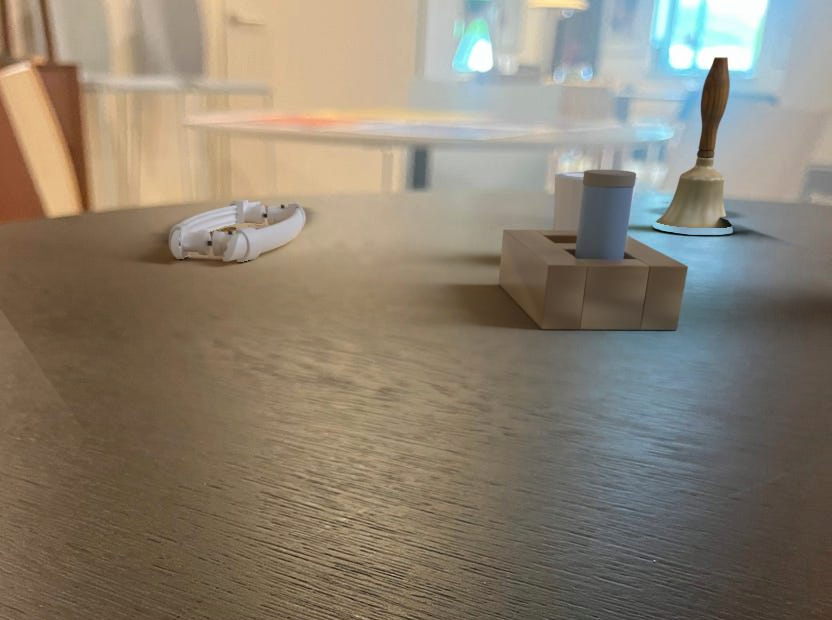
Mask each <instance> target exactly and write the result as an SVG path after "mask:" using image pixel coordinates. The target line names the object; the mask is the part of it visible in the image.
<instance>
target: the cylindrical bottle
mask: <svg viewBox="0 0 832 620" xmlns="http://www.w3.org/2000/svg"><path fill="white" fill-rule="evenodd" d="M583 172H584V177H583V192H582V200H581V208H580V217H579V225H578V233H577V242H576V250H575V257H576V258H577V259H623V258H624V251H625V244H626V237H627V236H628V229H629V223H630V217H631V209H632V205H631V202H632V203H633V201H632V195H633V188H634V185H635V179H636V178H637V173H636V172H635V171H630V170H622V169H621V170H620V169H587V170H584V171H583Z"/></svg>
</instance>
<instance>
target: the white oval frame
mask: <svg viewBox="0 0 832 620" xmlns="http://www.w3.org/2000/svg"><path fill="white" fill-rule="evenodd" d="M287 204H288V205H287V206H288V207H285V204H283V203H282V204H280V207H278V206H277V205H275V204H273V205H272V204H269V205H268V207H267V213H266V206H265V205H264V204H261V201H251V202H249V199H240V200H239V199H238V200H233V201H232V202H231V203H230V204H229V205H227V206H223V207H217V208H214V209H211V210H206V211H203V212H202V211H201V212H200V213H197V214H194V215H192V216H189V217H187V218H185V219H184V220H182V221H180V223H176V224H174V225H173V226H172V227H171V229H170V230H169V235H168V247H169V250H170V252H171V255H173V256H174V258H176V259H177V260H179V259H181V258H184V257H185V256H187V255H189V256H190V253H197V254H198V255H200V256H209V255H210V254H211V250H212V253H213V255H214V256H215V257H220V256H222V257H223V258H222V261H223V262H232V261H236V263H237V262H243V263H245V262H244V261H247V262H249V261H248V260H251V261H253V260H252V259H254V260H256V259H257V258H258V257H260V255H261V254H263V253H266V252H269V251H272V250H275V249H277V248H280V247H282V246H285V245H287V244H288V243H290V242H292V241H293V240H294V239H296V238H297V237H298V236H299V235H300V233H301V231H302V230H303V228H304V227H305V225H306V220H307V218H306V213H305V209H303V207H302V206H301V205H300V204H299V203H298V202H297V201H291V202H288V203H287ZM266 219H267V226H262V227H260V228H255V227H253V226H249V227H240V228H238V229H235V233H234V232H233V230H232V229H227V233H225V231H222V230H219V231H214V232H212V236H211V233H209V232H210V231H213V230H216V229H219V228H222V227H224V226H229V225H233V224H237V223H239V224H244V223H251V224H254V225H256V224H263V223H265V224H266ZM269 225H270V226H269ZM302 227H303V228H302ZM301 229H302V230H301Z"/></svg>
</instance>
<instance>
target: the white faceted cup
mask: <svg viewBox="0 0 832 620" xmlns="http://www.w3.org/2000/svg"><path fill="white" fill-rule="evenodd" d="M583 177H584V171H569V172H561V173H557V174H556V173H555V174H554V204H553V207H554V209H553V230H576V231H578V225H579V217H580V208H581V200H582V192H583ZM637 182H638V177H636V179H635V185H634V188H633V195H632V202H631V206H632V205H633V200H634V197H635V196H634V195H635V190H636V188H637Z"/></svg>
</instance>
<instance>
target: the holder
mask: <svg viewBox="0 0 832 620" xmlns="http://www.w3.org/2000/svg"><path fill="white" fill-rule="evenodd" d="M577 233H578V231H576V230H554V229H537V230H536V229H503V231H502V241H501V253H500V262H499V263H500V264H499V274H498V285H499V286H500V287H501V288H502V290H503V291H505V293H506V294H507V295H508V296H509V297H510V298H511V299H512V300H513V301H514V302H515V303H516V304H517V305H518V306H519V307H520V308H521V309H522V310H523V311H524V313H526V315H528V316H529V318H530V319H531V320H532V321H533V322H534V323H535V324H536V325H537V326H538V327H539V328H540V329H541V330H559V331H560V330H561V331H563V330H565V331H566V330H569V331H570V330H574V331H575V330H576V331H577V330H581V331H584V330H587V331H598V330H599V331H677V330H678V327H679V321H680V316H681V309H682V304H683V299H684V292H685V286H686V280H687V275H688V269H689V266H688V265H686V264H685V263H682V262H680V261H678V260H676V259H674V258H672V257H670V256H668V255H667V254H665V253H662V252H661V251H659V250H656V249H655V248H653V247H651V246H649V245H647V244H645V243H643V242H641V241H639V240H638V239H635V238H634V237H631V236H630V235H627V237H626V244H625V251H624V258H623V259H577V258H576V257H575V250H576V242H577Z"/></svg>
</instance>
